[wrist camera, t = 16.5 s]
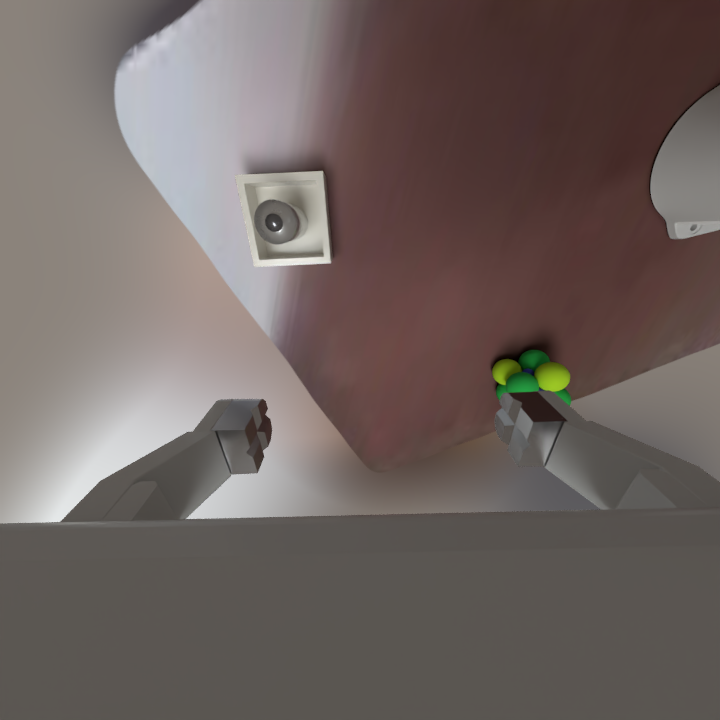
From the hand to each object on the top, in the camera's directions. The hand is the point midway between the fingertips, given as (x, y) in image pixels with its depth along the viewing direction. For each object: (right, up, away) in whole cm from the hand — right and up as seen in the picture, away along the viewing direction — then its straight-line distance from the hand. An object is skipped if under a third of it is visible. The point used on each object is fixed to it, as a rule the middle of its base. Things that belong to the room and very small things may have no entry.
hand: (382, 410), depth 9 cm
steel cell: (-10, +20, +26) cm, 34 cm away
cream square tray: (-10, +20, +26) cm, 34 cm away
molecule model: (+26, 0, +38) cm, 46 cm away
